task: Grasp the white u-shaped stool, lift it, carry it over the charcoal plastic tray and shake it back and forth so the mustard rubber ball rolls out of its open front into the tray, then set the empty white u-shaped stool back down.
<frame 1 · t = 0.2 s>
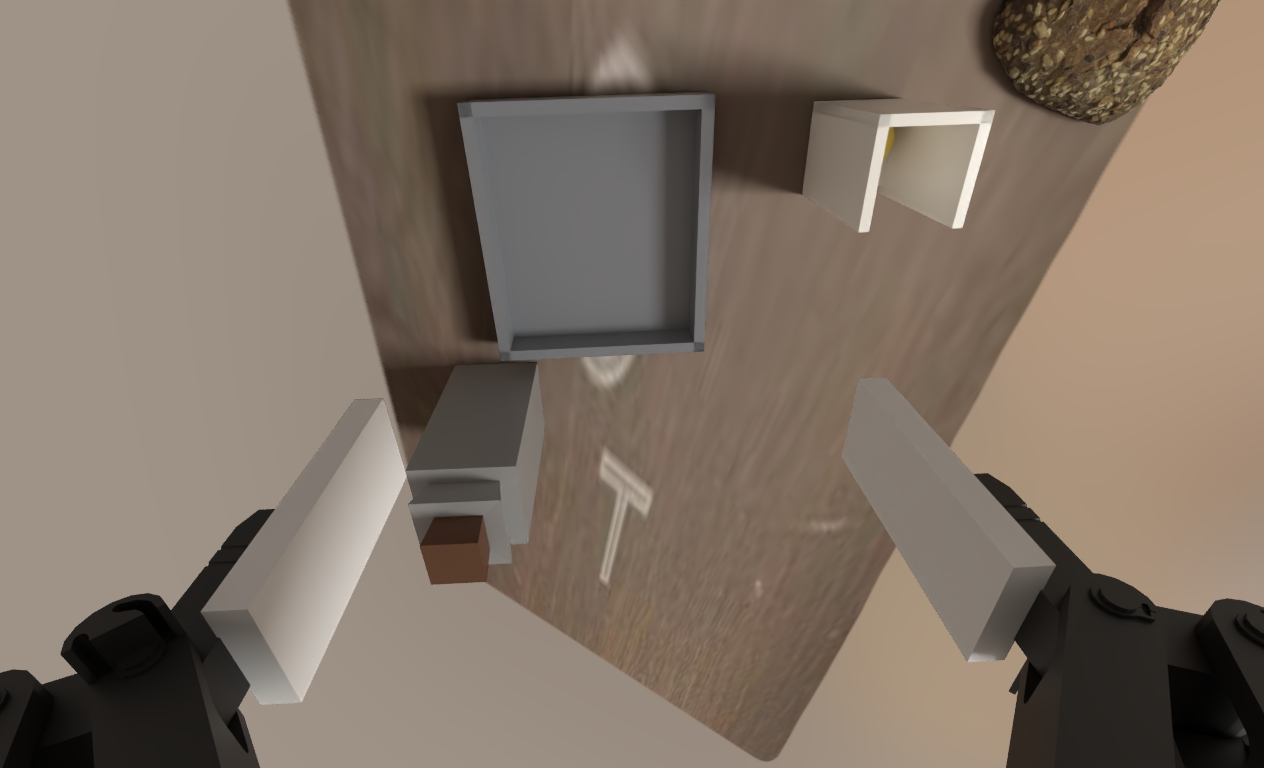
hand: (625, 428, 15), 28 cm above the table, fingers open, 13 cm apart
perfume bottle: (502, 396, 47), on the table
bread roll: (1100, 2, 35), on the table
ball: (867, 140, 35), point 2 cm above the table, tilted 14°, touching white u-shaped stool
tray: (596, 231, 40), on the table
white u-shaped stool: (850, 148, 38), on the table, touching ball
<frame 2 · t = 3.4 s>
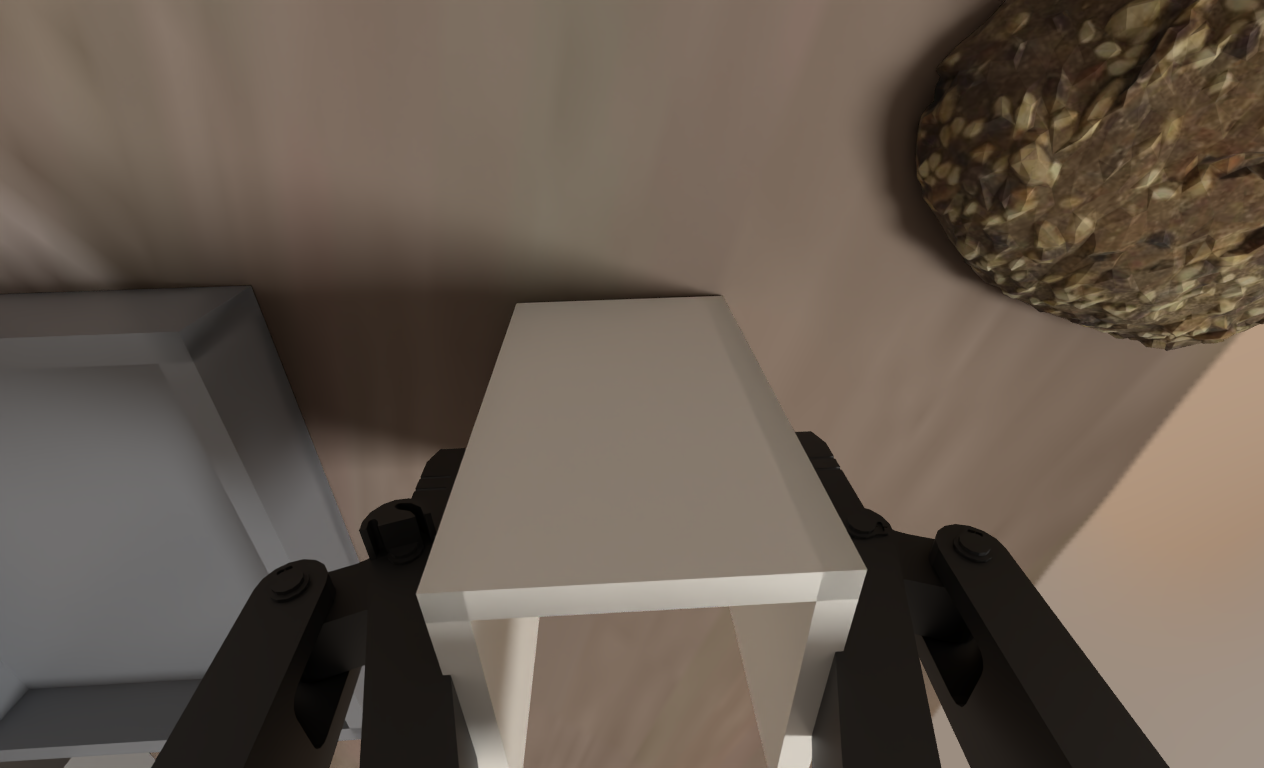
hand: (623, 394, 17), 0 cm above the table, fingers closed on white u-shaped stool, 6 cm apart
perfume bottle: (74, 746, 26), on the table
bread roll: (1179, 82, 14), on the table
tray: (118, 530, 19), on the table
white u-shaped stool: (623, 387, 17), on the table, touching ball, gripper
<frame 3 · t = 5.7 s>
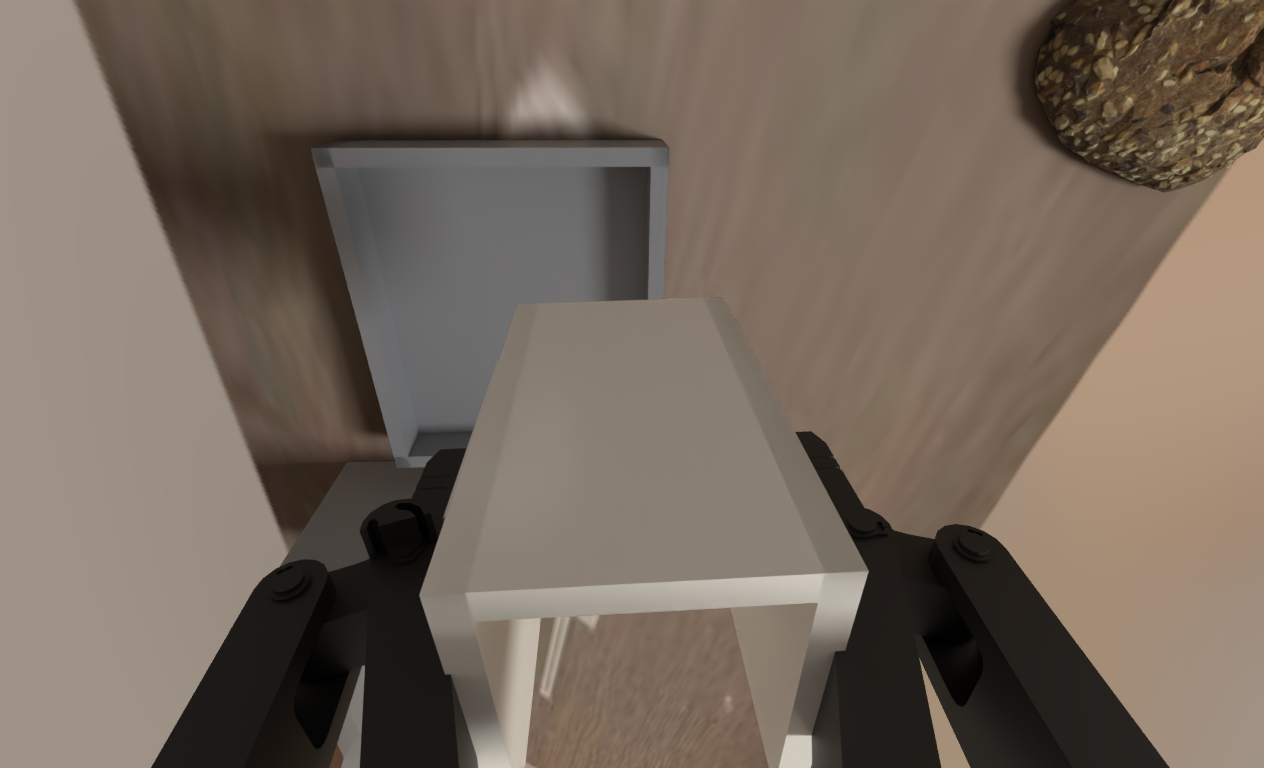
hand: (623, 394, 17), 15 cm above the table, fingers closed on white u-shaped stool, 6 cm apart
perfume bottle: (410, 497, 38), on the table
bread roll: (1177, 34, 26), on the table
tray: (520, 308, 31), on the table
white u-shaped stool: (624, 388, 17), point 14 cm above the table, touching ball, gripper
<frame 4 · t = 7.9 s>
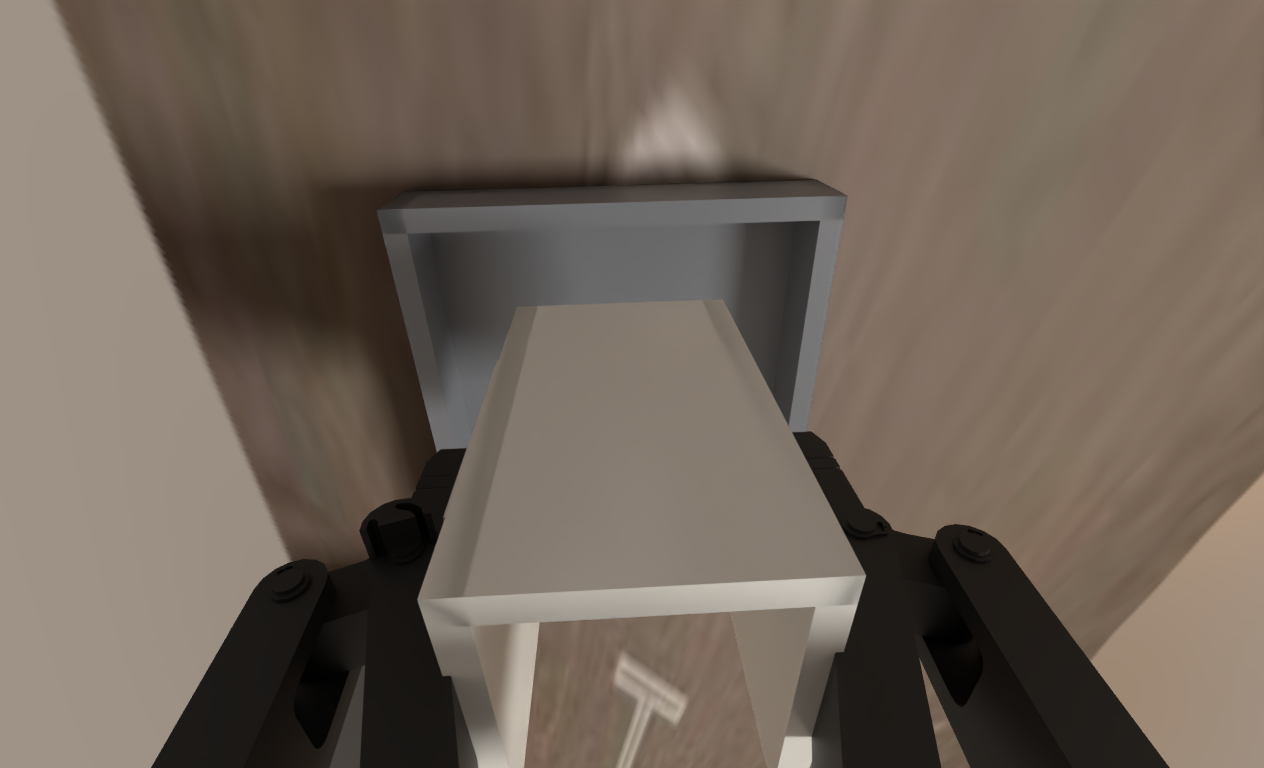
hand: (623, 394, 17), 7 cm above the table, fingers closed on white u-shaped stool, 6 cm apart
perfume bottle: (474, 595, 32), on the table
tray: (620, 385, 25), on the table
white u-shaped stool: (623, 390, 17), point 7 cm above the table, touching ball, gripper
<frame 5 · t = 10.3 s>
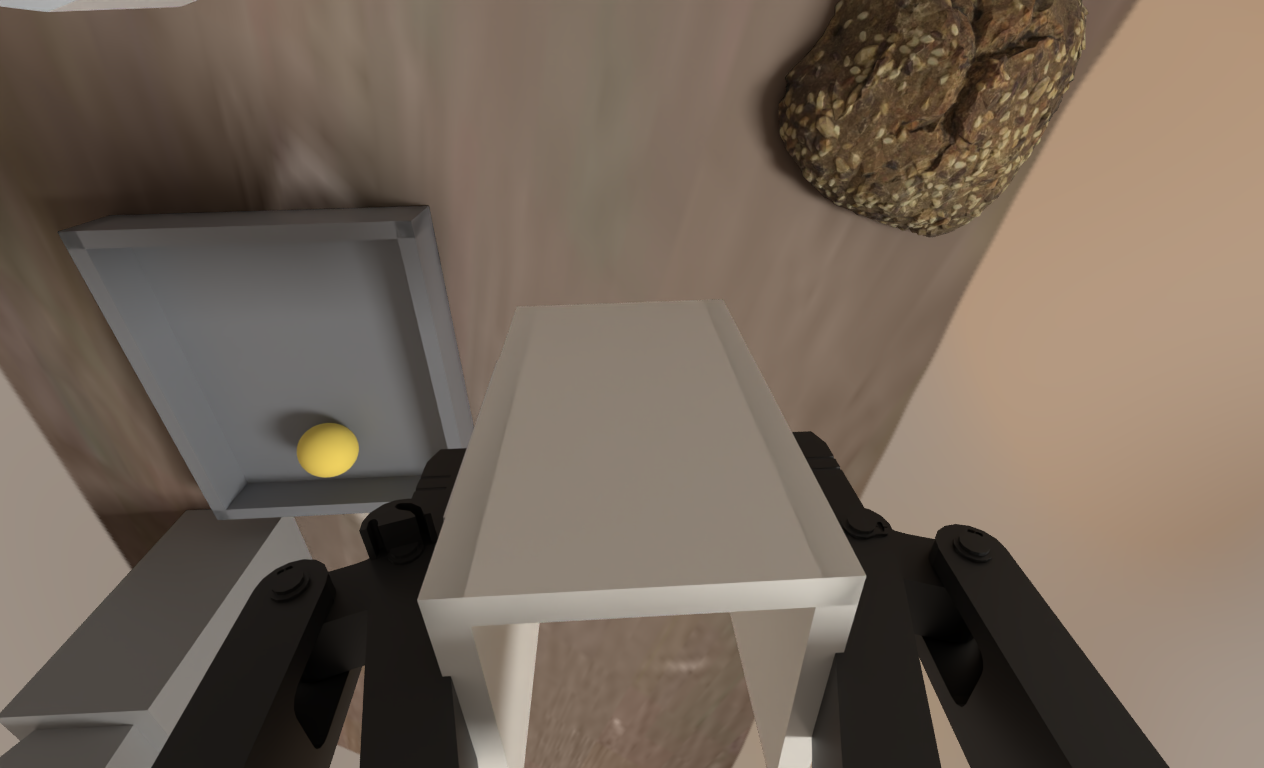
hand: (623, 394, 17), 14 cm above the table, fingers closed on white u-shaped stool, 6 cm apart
perfume bottle: (257, 541, 39), on the table
bread roll: (921, 85, 26), on the table
ball: (328, 450, 32), point 2 cm above the table, tilted 144°, touching tray
tray: (324, 365, 32), on the table
white u-shaped stool: (623, 390, 17), point 14 cm above the table, touching gripper
when the fingers open (2 cm above the table, at t = 12.4 s): white u-shaped stool drops 1 cm, on the table.
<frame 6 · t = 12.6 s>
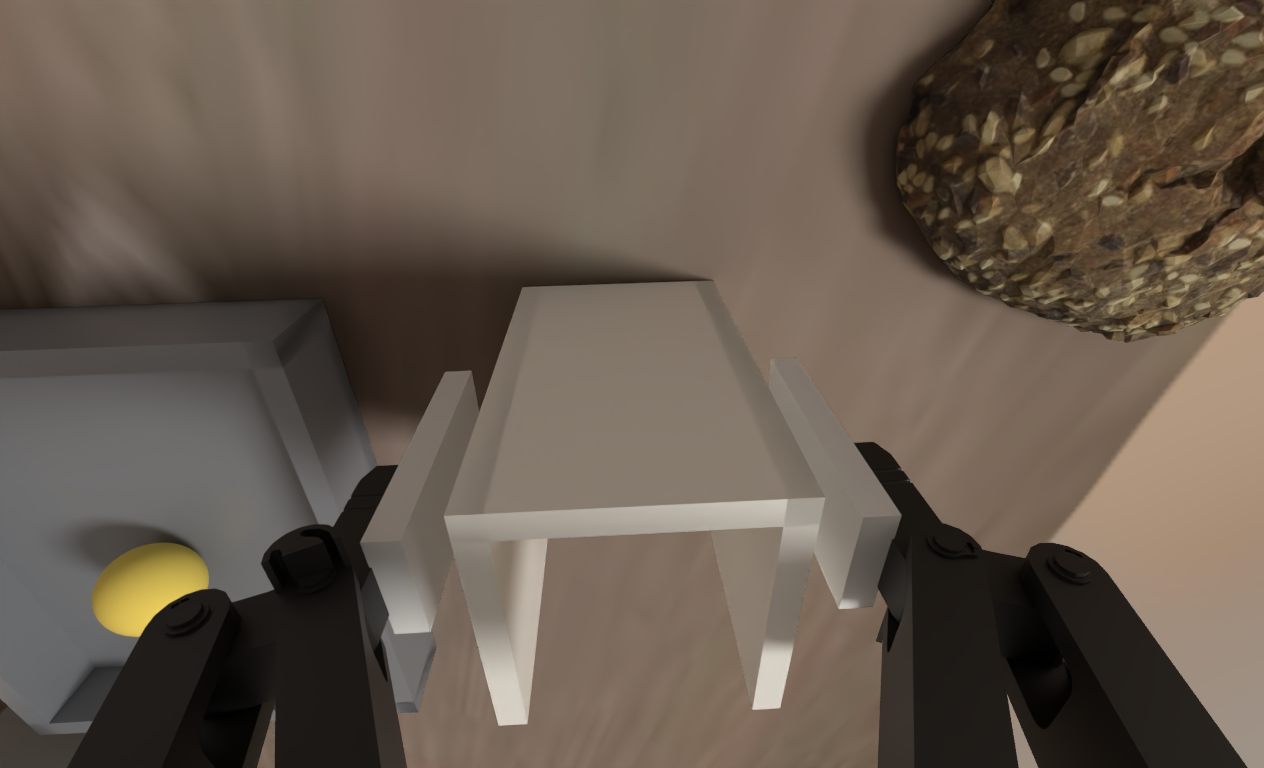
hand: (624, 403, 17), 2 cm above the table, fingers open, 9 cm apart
perfume bottle: (128, 724, 28), on the table
bread roll: (1133, 99, 16), on the table
ball: (153, 588, 20), point 2 cm above the table, tilted 28°, touching tray
tray: (187, 519, 21), on the table
white u-shaped stool: (620, 367, 19), on the table
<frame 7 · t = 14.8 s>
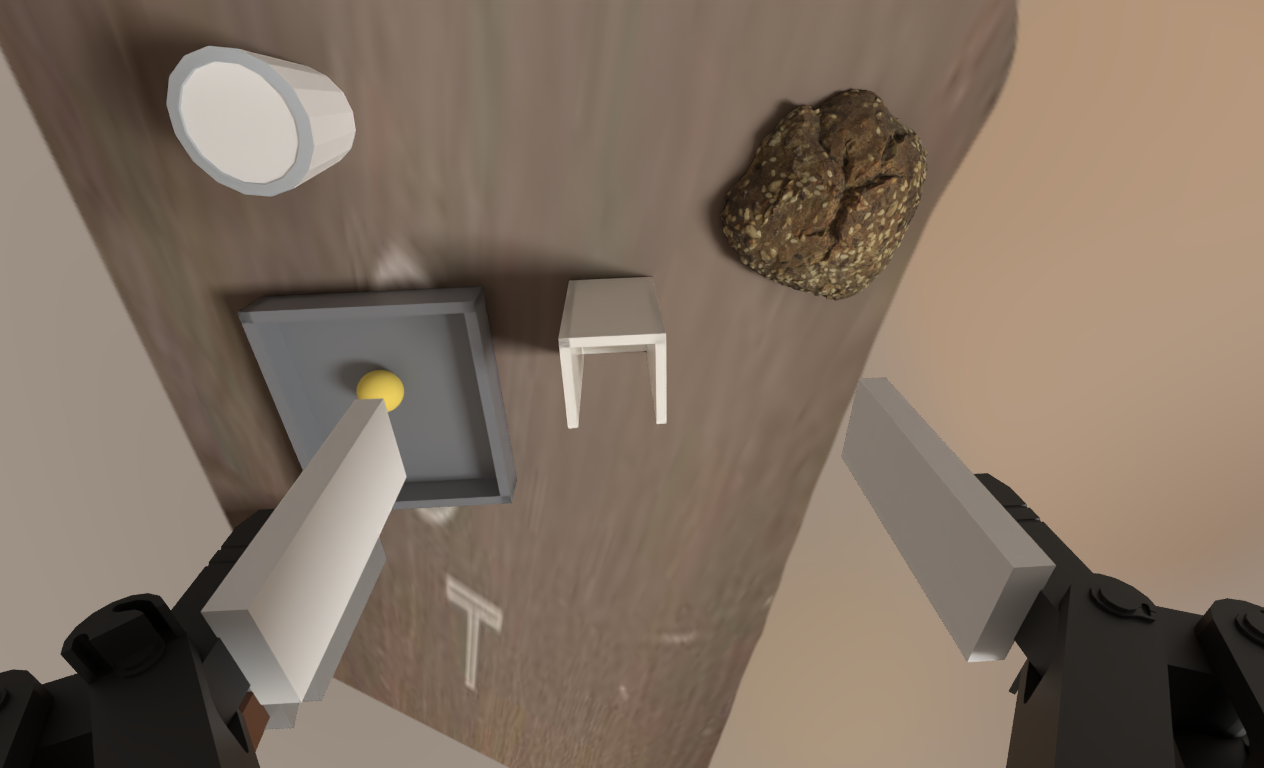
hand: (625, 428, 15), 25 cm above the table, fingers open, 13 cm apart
perfume bottle: (341, 532, 50), on the table
bread roll: (823, 196, 37), on the table
shot glass: (309, 117, 34), on the table
ball: (380, 391, 40), point 2 cm above the table, tilted 83°, touching tray
tray: (402, 397, 43), on the table
white u-shaped stool: (613, 317, 41), on the table
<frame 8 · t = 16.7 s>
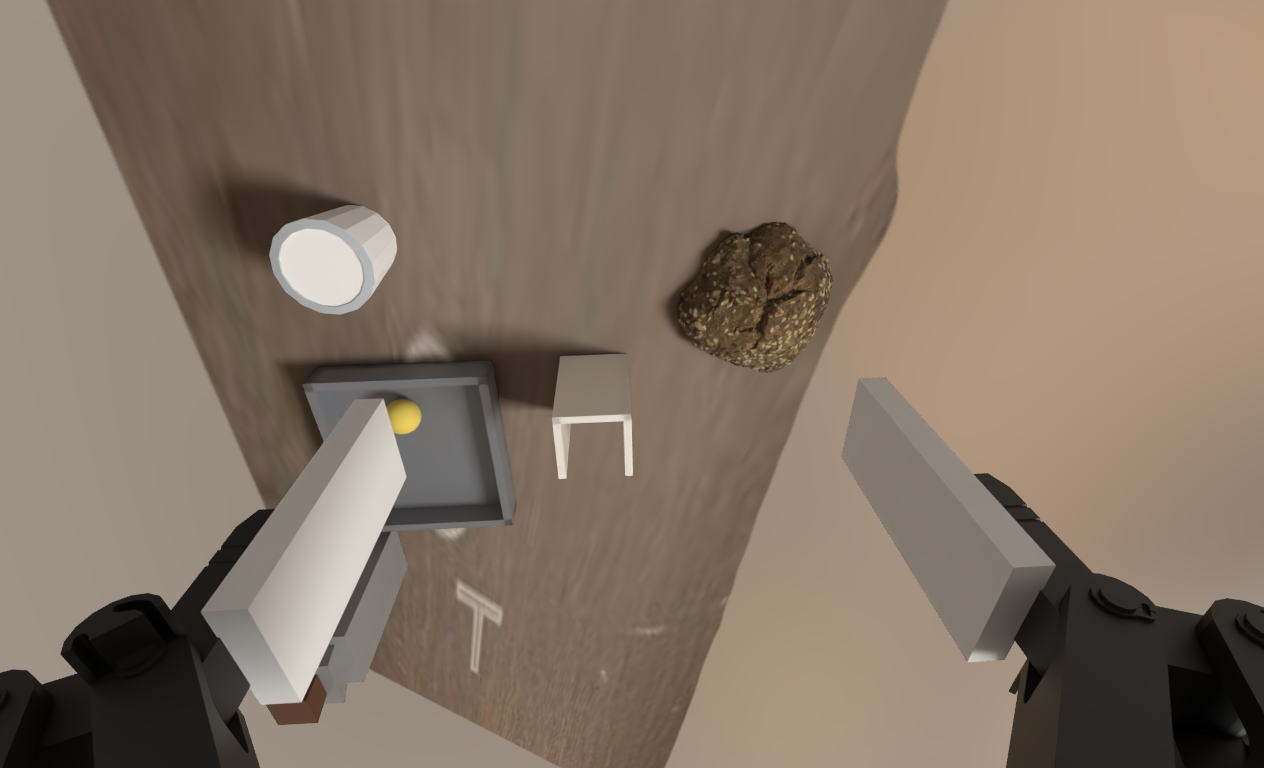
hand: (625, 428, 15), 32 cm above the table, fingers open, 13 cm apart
perfume bottle: (371, 545, 61), on the table
bread roll: (756, 294, 48), on the table
shot glass: (361, 240, 44), on the table
ball: (402, 416, 50), point 2 cm above the table, tilted 177°, touching tray
tray: (425, 442, 54), on the table
white u-shaped stool: (594, 383, 51), on the table
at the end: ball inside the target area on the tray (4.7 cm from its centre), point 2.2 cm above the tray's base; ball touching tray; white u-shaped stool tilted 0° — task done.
